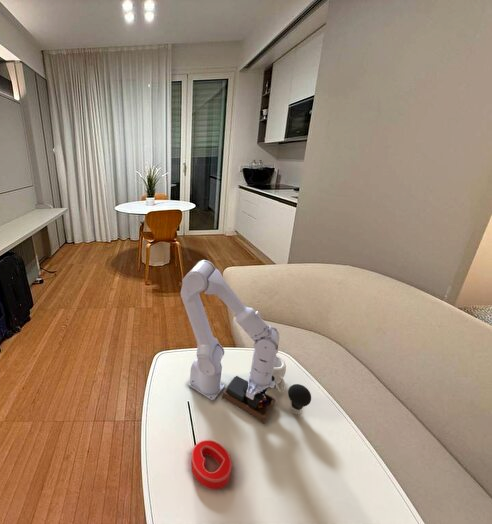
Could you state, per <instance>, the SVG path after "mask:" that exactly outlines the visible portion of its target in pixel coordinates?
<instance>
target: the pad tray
mask: <svg viewBox="0 0 492 524" xmlns="http://www.w3.org/2000/svg"><path fill="white" fill-rule="evenodd" d="M235 377H236V376H234V377H233V378H232V380H231V381H230V382H229V383H228V385H227V386H225V387H226V388H224V389H223V390H222V395H221V397H222V399H223V400H224V401H226V402H228V403H230V404H231V405H232V406H235V407H236V408H238V409H240V410H241V411H242V412H245V413H246V414H247V415H249V416H251V417H252V418H254V419H256V420H257V421H259V422H260V423H262V424H265V423H266V421H267V420H268V417H269V416H270V413H271V412H272V410H273V408H274V407H275V404H276V400H277V399H276V397H274V396H272V395H270V394H268V393H266V392H265V395H266V405H267V406H266V407H263V408H259V409H255V410H254V409H253V408H251V407H249V406H248V402H247V398H246V400H245V401H244V403H243V402H241V401H239V400H238V399H236V398H234V397H233V396H231V395H229V394H228V393H226V392H227V387H228V386H229V385H230V383H231V382H232V381H233V380H234V378H235Z"/></svg>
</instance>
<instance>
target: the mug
mask: <svg viewBox="0 0 492 524" xmlns="http://www.w3.org/2000/svg"><path fill="white" fill-rule="evenodd" d="M286 372H287V364H286V362H285V360H284V359H283V358H282V357H280V356H279V355H277V354H276V359H275V364H274V369H273V373H272V376H274V378H275V379H274V381H273V382H275V388H276V389H277V390H278V391H279V392H280V393H283V392H284V391H285V389H286V383H285V379H284V377H285V376H286ZM279 383H281V388H280V385H279Z"/></svg>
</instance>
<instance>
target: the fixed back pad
mask: <svg viewBox="0 0 492 524" xmlns="http://www.w3.org/2000/svg"><path fill="white" fill-rule="evenodd" d="M234 377H235V378H234ZM234 377H233V378H234V380H233V379H232V380H233V381H232V380H231V381H232V382H231V381H230V382H231V383H230V382H229V384H230V385H229V384H228V385H229V386H228V385H227V386H228V387H227V386H226V387H227V392H226V393H228V394H229V395H231V396H233V397H234V398H236V399H238V400H239V401H241V402H243V403H244V401H245V400H246V395H245V393H244V392H243V388H244V386H245V385H246V384H247V385H248V382H249V381H247V380H246V379H244V378H243V377H240V376H238V375H236V376H234Z"/></svg>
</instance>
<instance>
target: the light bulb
mask: <svg viewBox="0 0 492 524" xmlns="http://www.w3.org/2000/svg"><path fill="white" fill-rule="evenodd" d="M287 397H288V399H289V400H290V411H291V412H292V413H293V414H296V415H299V414H300V413H301V410H302V409H304V407H307V406H309V405H310V404H311V402H312V394H311V392H310V390H309V389H308V388H307V387H306V386H304V385H303V384H301V383H295V384H292V385H290V386H289V387H288V390H287Z"/></svg>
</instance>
